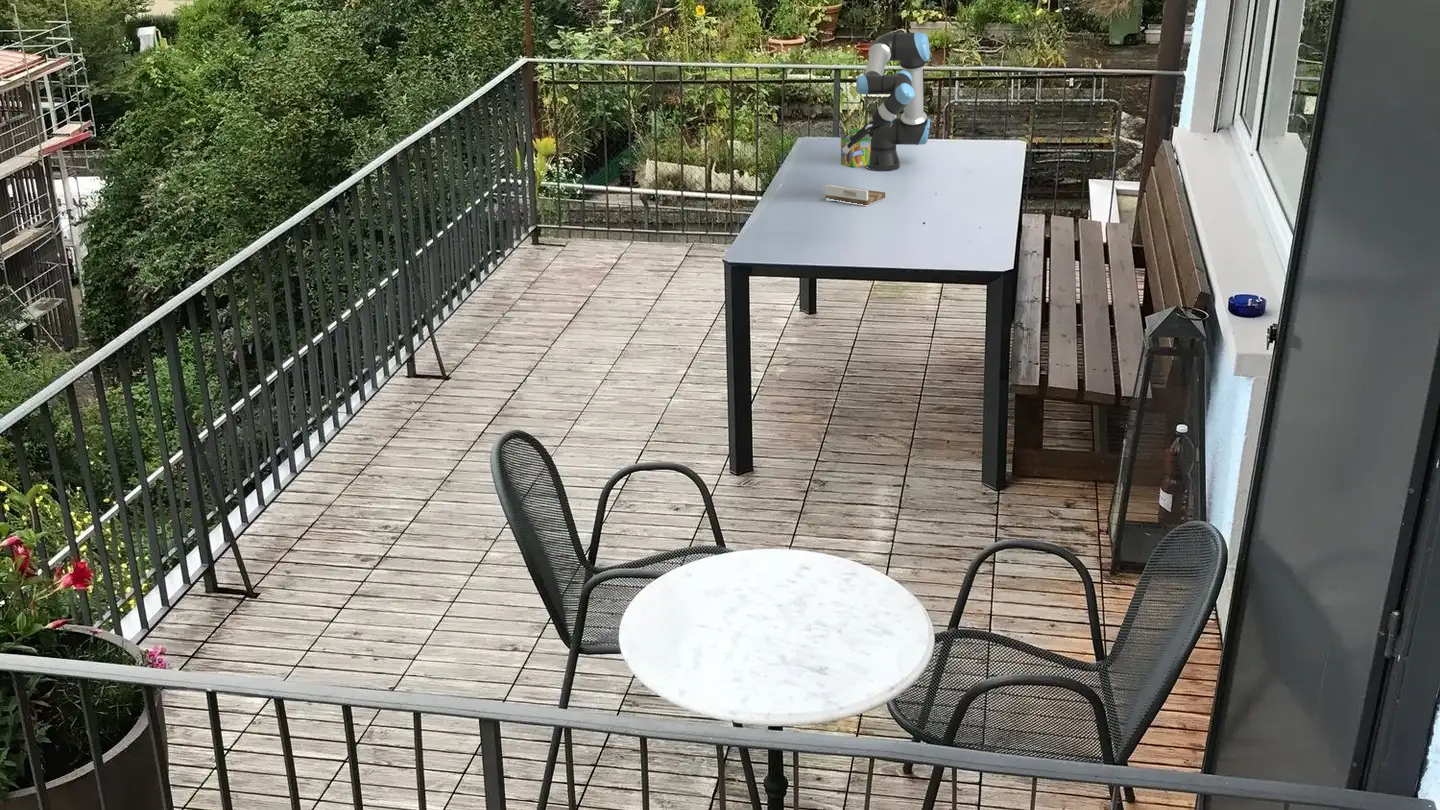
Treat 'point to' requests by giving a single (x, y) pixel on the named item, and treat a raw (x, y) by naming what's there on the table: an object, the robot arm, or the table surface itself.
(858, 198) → the shelf board
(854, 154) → the chalk box
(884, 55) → the robot arm
